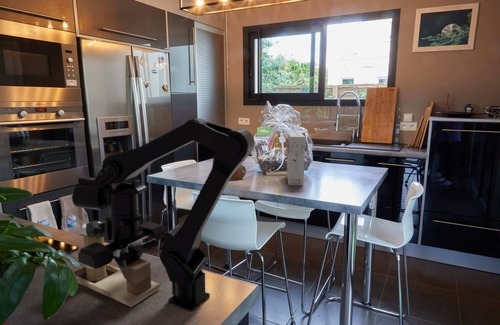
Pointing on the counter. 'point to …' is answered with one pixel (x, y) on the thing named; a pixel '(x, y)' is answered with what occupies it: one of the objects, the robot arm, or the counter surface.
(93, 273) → the sprinkles bottle
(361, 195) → the counter surface
